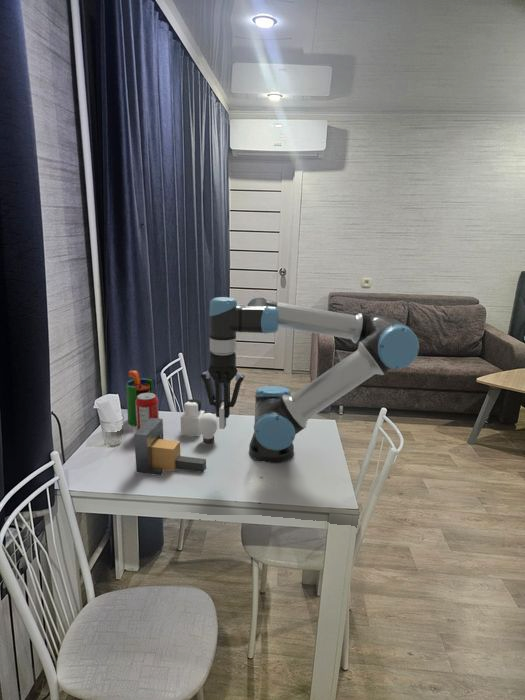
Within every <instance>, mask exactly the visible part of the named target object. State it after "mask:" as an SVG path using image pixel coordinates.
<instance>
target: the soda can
mask: <svg viewBox="0 0 525 700" xmlns="http://www.w3.org/2000/svg"><path fill="white" fill-rule="evenodd" d="M135 405H136V422H137V426H136V432H137V431H138V430H139V429H140V428H141V427H142V426H143V425H144V424H145V423H146V422H147V421H148V420H149V419H150V418H158V419H160V417H159V412H160V411H159V398H158V397H157V395H156V394H155V393H142V394H139V395H138V396H137V399H136V401H135Z"/></svg>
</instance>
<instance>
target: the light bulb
mask: <svg viewBox="0 0 525 700" xmlns="http://www.w3.org/2000/svg"><path fill="white" fill-rule="evenodd" d="M198 427H199V431H200V433H201V435H202V443H203V444H204V445H213V444H214V443H215V434H216V432H217V430H218V427H219V421H218V419H217V417H216V415H215V414H213V413H211V412H205V414H203V415H202V416H201V417H200V419H199V422H198Z"/></svg>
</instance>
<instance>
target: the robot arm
mask: <svg viewBox="0 0 525 700" xmlns="http://www.w3.org/2000/svg"><path fill="white" fill-rule="evenodd" d="M208 316H209V352H210V353H209V367H208V370H207V371H204V372H202V374H201V375H200V377H201V379H202V381H203V383H204V386H205V390H206V394H207V398H208V402H209V405H210V406H214V408H215V417H216V418H218V427H219V428H218V429H221V430H225V428H226V426H227V419H228V418H229V416H230V409H231V408H234V407H235V404H236V403H237V400H238V398H239V397H238V396H239V392H240V389H241V385H242V383H243V381H244V380H245V378H246V377H245V374H241V373H239V372H238V369H237V352H236V351H237V333H250V334H251V333H254V334H256V333H257V334H274V333H277V332H278V330H279V328H284V329H288V330H289V329H290V330H294V331H295V330H297V331H302V332H307V333H312V334H319V335H325V336H331V337H335V338H342V339H347V340H351V341H352V343H353V344H358V347H357V350H355V351H354V352H352V353H351V354H350V355H347V357H345V358H344V359H342V360H341V361H340V362H338V363H336V364H335V365H334V366H332V367H331V368H328V370H327V371H325V372H324V373H322V374H320V375H319V376H318V377H317V378H314V380H312V381H310V382H309V383H308V384H306V385H305V386H303V387H302V388H300V389H298V391H296V392H294V393H293V394H292V392H291V390H290V389H289V388H287V387H284V386H278V385H265V386H260V387H258V388H257V389H256V391H255V395H254V398H255V399H254V400H255V401H254V402H255V403H254V404H255V405H254V425H253V434H252V437H251V440H250V442H249V446H248V452H249V454H250V455H249V456H251V457H252V458H253V459H254V460H256V461H259V462H262V463H267V464H268V463H269V464H276V463H277V464H278V463H283V462H286V461H288V460H290V459H292V457H293V455H294V451H295V447H294V441H295V437H296V435H297V434H298V433H300V432H302V431H303V430H304V429H306V428H307V424H308V423H307V422H308V421H309V420H310V419H311V418H312V417H314V416H315V415H317V414H319V413H320V412H322V411H323V410H324V409H326V408H327V407H329V406H330V405H331V404H333V403H335V402H336V401H337V400H339V399H341V398H342V397H343V396H345V395H346V394H348V393H349V392H350V391H352V390H353V389H355V388H356V387H358V386H360V385H361V384H362V383H364V382H366V381H367V380H368V379H370V378H371V377H373V376H374V375H379V376H383V375H384V376H385V374H387V373H389V372H390V371H391V370H392V369H393V370H400V369H402V370H403V369H405V368H407V367H409V366H410V365H411V364H413V362H414V361H415V360H416V358H417V357H418V354H419V350H420V341H419V338H418V337H417V334H416V333H415V332H414V331H413V330H412V329H411V328H410V327H409V326H408V325H406V324H404V323H402V322H401V321H399V320H398V319H396V318H394V317H391V316H388V315H387V316H386V315H378V314H370V313H369V314H368V313H364V312H363V313H361V312H359V313H357V314H348V313H343V312H337V311H331V310H325V309H320V308H313V307H308V306H303V305H296V304H291V303H284V302H280V301H273V300H269V299H266V298H264V297H261V296H258V297H254V298H252V299H251V300H249V302H248V303H247V305H239V304H238V303H237V299H236V298H233V297H229V296H228V297H227V296H222V297H221V296H219V297H214V298H212V299H211V300H210V302H209V315H208ZM211 378H212V379H213V381H214V387H215V392H214V387H213V384H212V379H211ZM234 378H235V379H234ZM233 379H234V381H236V382H235V385H234V388H233V393H232V396H231V383H232V382H231V381H232V380H233ZM222 384H223V386H222ZM222 389H223V390H222ZM222 391H223V393H222ZM222 397H223V398H222ZM222 399H223V400H222Z"/></svg>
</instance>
